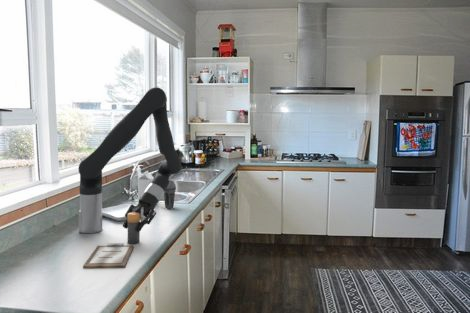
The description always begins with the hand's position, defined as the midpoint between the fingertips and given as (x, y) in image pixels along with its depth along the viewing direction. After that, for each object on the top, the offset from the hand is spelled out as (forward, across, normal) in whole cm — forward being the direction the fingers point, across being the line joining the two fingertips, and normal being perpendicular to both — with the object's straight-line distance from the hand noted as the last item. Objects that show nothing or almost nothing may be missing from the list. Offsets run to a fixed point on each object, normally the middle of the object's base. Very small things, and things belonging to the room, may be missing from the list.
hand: (130, 229), depth 157 cm
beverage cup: (-32, -28, +41) cm, 59 cm away
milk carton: (-31, -45, +40) cm, 68 cm away
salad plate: (-14, -35, +23) cm, 44 cm away
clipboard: (+14, +6, -6) cm, 17 cm away
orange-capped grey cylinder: (+3, 0, +5) cm, 6 cm away
